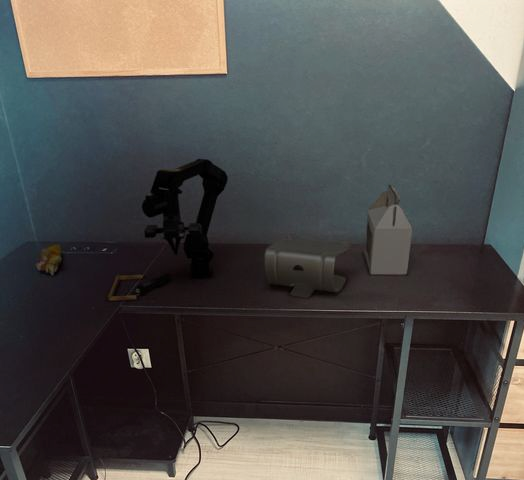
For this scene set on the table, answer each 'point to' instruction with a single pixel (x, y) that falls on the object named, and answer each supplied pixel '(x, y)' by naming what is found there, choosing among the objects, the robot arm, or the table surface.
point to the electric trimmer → (151, 284)
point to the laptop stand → (304, 265)
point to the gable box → (387, 236)
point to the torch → (50, 259)
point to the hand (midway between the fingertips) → (176, 254)
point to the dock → (112, 291)
